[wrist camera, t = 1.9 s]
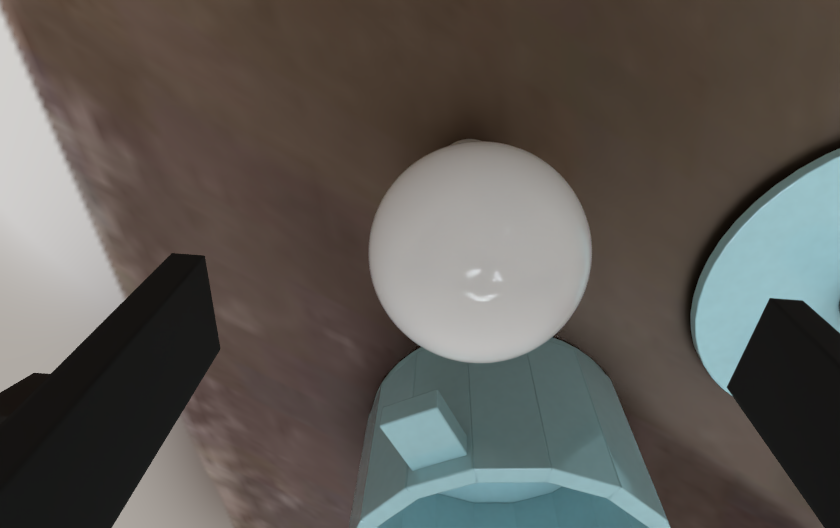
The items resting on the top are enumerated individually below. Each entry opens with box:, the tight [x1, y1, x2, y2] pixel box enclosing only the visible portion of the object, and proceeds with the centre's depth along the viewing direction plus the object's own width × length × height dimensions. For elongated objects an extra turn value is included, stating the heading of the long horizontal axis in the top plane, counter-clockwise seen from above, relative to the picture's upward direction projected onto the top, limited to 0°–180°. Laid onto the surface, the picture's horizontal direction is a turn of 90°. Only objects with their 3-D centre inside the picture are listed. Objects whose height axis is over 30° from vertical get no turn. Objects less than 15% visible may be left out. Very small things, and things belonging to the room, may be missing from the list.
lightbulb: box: [368, 139, 592, 363], centre depth 17 cm, size 6×6×11 cm
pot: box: [349, 337, 671, 528], centre depth 26 cm, size 14×20×8 cm
